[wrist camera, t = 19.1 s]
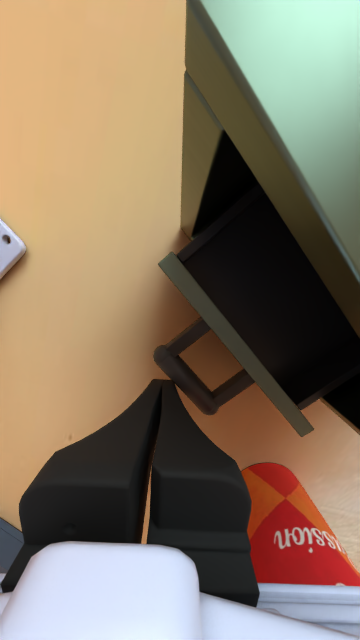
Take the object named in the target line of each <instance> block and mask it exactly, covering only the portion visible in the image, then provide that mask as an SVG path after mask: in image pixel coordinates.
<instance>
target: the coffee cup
mask: <svg viewBox="0 0 360 640" xmlns="http://www.w3.org/2000/svg"><path fill="white" fill-rule="evenodd" d="M241 473H242V476H243V478H244V480H245V482H246V485H247V488H248V491H249V494H250V498H251V501H252V506H251V514H250V519H249V523H248V528H247V533H248V537H249V541H250V544H251V553H250V556H251V560H252V564H253V568H254V572H255V576H256V580H257V583H279V584H306V585H334V586H360V573H359V572H358V570H357V569H356V567H355V566H354V564H353V563H352V561H351V560H350V558H349V556H348V555H347V553H346V552H345V550H344V549H343V547H342V546H341V544H340V543H339V541H338V540H337V538H336V537H335V535H334V534H333V532H332V530H331V529H330V527H329V526H328V524H327V523H326V521H325V520H324V518H323V517H322V515H321V514H320V512H319V511H318V509H317V508H316V506H315V505H314V503H313V502H312V500H311V499H310V497H309V496H308V494H307V493H306V491H305V490H304V488H303V487H302V485H301V484H300V482H299V481H298V480H297V478H296V477H295V475H294V474H293V473H292V472H291V471H290V470H289V469H288V468H286V467H284V466H282V465H279V464H275V463H260V464H256V465H253V466H250V467H248V468H246V469H244V470H243V471H242V472H241Z"/></svg>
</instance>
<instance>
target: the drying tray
mask: <svg viewBox="0 0 360 640" xmlns="http://www.w3.org/2000/svg"><path fill="white" fill-rule="evenodd" d="M23 544H24V538H23V533H22V532H20V531H19V530H17V529H16V528H14V527H13V526H11V525H10V524H8V523H7V522H6V521H4V520H3V519H1V518H0V573H3V574H7V572H8V570H9V568H10V567H11V565H12V563H13V561H14V560H15V558H16V556H17V555H18V553H19V551H20V549H21V548H22V546H23Z"/></svg>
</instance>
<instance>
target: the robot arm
mask: <svg viewBox="0 0 360 640" xmlns="http://www.w3.org/2000/svg"><path fill="white" fill-rule="evenodd" d="M9 237H10V239H11V242H10V244H9V243H8V238H9ZM25 252H26V246H25V244H24V242H23V241H22V240H21V239H20V238H19V237H18V236H17V235H16V234H15V233H14V232H13V231H12V230H11V229H10V228H9V227H8V226H7V225H6V224H5V223H4V222H3V221H2V220H1V218H0V279H1V278H2V277H3V276H4V275H5V274H6V273H7V272H8V271H9V269H10V268H11V267H12V266H13V265H14V264H15V263H16V262H17V261H18V260H19V259H20V258H21V257H22V256H23V255H24V254H25ZM155 446H156V447H155ZM154 451H155V452H154ZM153 456H154V457H153ZM152 460H153V461H152ZM151 465H152V469H151ZM150 471H151V497H150V519H149V527H148V535H147V544H141V540H142V532H143V524H144V516H145V508H146V500H147V493H148V485H149V478H150ZM251 506H252V501H251V498H250V494H249V491H248V488H247V485H246V482H245V480H244V478H243V476H242V473H241V471H240V469H239V467H238V465H237V463H236V461H235V460H234V459H232V458H231V457H230V456H229V455H227V454H226V453H225V452H224V451H222V450H221V449H220V448H219V447H217V446H216V445H215V444H214V443H213V442H212V441H211V440H210V439H209V438H208V437H207V436H206V435H205V434H204V433H203V432H202V431H201V429H200V428H199V427H198V426H197V424H196V423H195V422H194V420H193V419H192V418H191V416H190V415H189V413H188V412H187V410H186V408H185V406H184V405H183V403H182V401H181V399H180V397H179V394H178V392H177V389H176V386H175V383H174V382H173V381H172V380H159V379H153V380H152V381H151V383H150V384H149V385H148V387H147V388H146V389H145V390H144V392H143V393H142V394H141V395H140V396H139V397H138V398H137V399H136V400H135V401H134V402H133V403H132V404H131V405H130V406H129V407H128V408H127V409H126V410H125V411H124V412H123V413H122V414H120V415H119V416H118V417H117V418H115V419H114V420H113V421H111V422H110V423H108V424H107V425H105V426H104V427H102V428H101V429H99V430H98V431H96V432H94V433H93V434H91V435H89V436H87V437H85V438H84V439H82V440H80V441H78V442H76V443H74V444H71V445H69V446H67V447H65V448H63V449H61V450H59V451H56V452H55V453H54V454H53V456H52V457H51V458H50V459H49V460H48V461H47V463H46V464H45V465H44V466H43V468H42V469H41V470H40V472H39V473H38V475H37V476H36V477H35V479H34V480H33V482H32V483H31V484H30V486H29V487H28V489H27V490H26V491H25V493H24V494H23V496H22V498H21V500H20V503H19V516H20V522H21V527H22V533H23V538H24V544H23V546H22V548H21V549H20V551H19V553H18V555H17V556H16V558H15V560H14V561H13V563H12V565H11V567H10V568H9V570H8V572H7V574H3V573H0V640H360V586H334V585H306V584H279V583H257V580H256V576H255V572H254V568H253V564H252V560H251V556H250V553H251V544H250V541H249V537H248V533H247V528H248V523H249V519H250V514H251Z"/></svg>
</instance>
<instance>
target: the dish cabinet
mask: <svg viewBox="0 0 360 640" xmlns="http://www.w3.org/2000/svg"><path fill="white" fill-rule="evenodd" d="M185 66H186V71H185V74H184V102H183V143H182V183H181V224H180V227H181V229H182V230H183V231H184V233H185V234H186V235H187V236H188V238H189V239H190V240H191V241H192V240H193V239H194V238H196V237H197V236H198V235H199V234H200V233H201V232H202V231H203V230H205V229H206V228H207V227H208V226H209V225H210V224H211V223H213V222H214V221H215V220H216V219H217V218H218V217H219V216H220V215H222V214H223V213H224V212H225V211H226V210H227V209H228V208H229V207H231V206H232V205H233V204H234V203H235V202H236V201H237V200H238V199H240V198H241V197H242V196H243V195H244V194H245V193H246V192H248V191H249V190H250V189H251V188H252V187H253V186H254V185H255V184H257V183H258V182H259V184H260V185H261V187H262V188H263V190H264V191H265V193H266V194H267V196H268V198H269V199H270V201H271V202H272V204H273V205H274V207H275V208H276V210H277V211H278V213H279V215H280V216H281V218H282V219H283V221H284V222H285V224H286V225H287V227H288V228H289V230H290V232H291V233H292V235H293V236H294V238H295V239H296V241H297V242H298V244H299V246H300V247H301V249H302V250H303V252H304V253H305V255H306V256H307V258H308V259H309V261H310V263H311V264H312V266H313V267H314V269H315V270H316V272H317V273H318V275H319V276H320V278H321V280H322V281H323V283H324V284H325V286H326V287H327V289H328V290H329V292H330V294H331V295H332V297H333V298H334V300H335V301H336V303H337V304H338V306H339V307H340V309H341V311H342V312H343V314H344V315H345V317H346V318H347V320H348V321H349V323H350V324H351V326H352V328H353V329H354V331H355V332H356V334H357V335H358V337H359V338H360V0H186V35H185ZM319 400H321V401H322V402H323V403H324V404H325V405H326V406H327V407H329V408H330V409H331V410H332V411H333V412H334V413H335V414H337V415H338V416H339V417H340V418H341V419H342V420H343V421H344V422H346V423H347V424H348V425H349V426H350V427H351V428H352V429H354V430H355V431H356V432H357V433H358V434H359V435H360V373H358V374H357V375H355V376H354V377H352V378H351V379H349V380H347V381H346V382H344V383H343V384H341V385H340V386H338V387H337V388H335V389H333V390H332V391H330V392H329V393H327V394H326V395H324V396H323V397H321V398H320V399H319Z"/></svg>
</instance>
